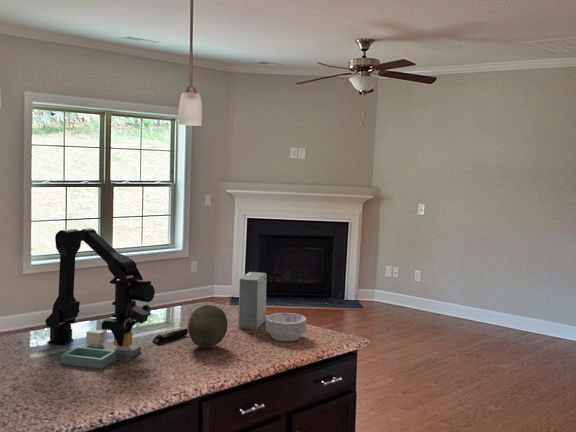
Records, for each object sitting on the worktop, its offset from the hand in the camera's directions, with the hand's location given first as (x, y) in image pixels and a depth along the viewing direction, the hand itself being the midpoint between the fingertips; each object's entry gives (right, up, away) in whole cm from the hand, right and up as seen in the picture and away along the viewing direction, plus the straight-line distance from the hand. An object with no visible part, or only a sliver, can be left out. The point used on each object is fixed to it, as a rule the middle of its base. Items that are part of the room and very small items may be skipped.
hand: (123, 344), depth 206 cm
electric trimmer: (+12, -3, +20) cm, 23 cm away
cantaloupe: (+26, -4, +11) cm, 29 cm away
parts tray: (-9, -4, -8) cm, 12 cm away
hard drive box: (+40, -1, +45) cm, 60 cm away
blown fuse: (0, -3, 0) cm, 3 cm away
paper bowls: (+54, -4, +28) cm, 60 cm away
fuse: (-10, -3, +3) cm, 11 cm away
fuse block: (-5, -3, +1) cm, 6 cm away
